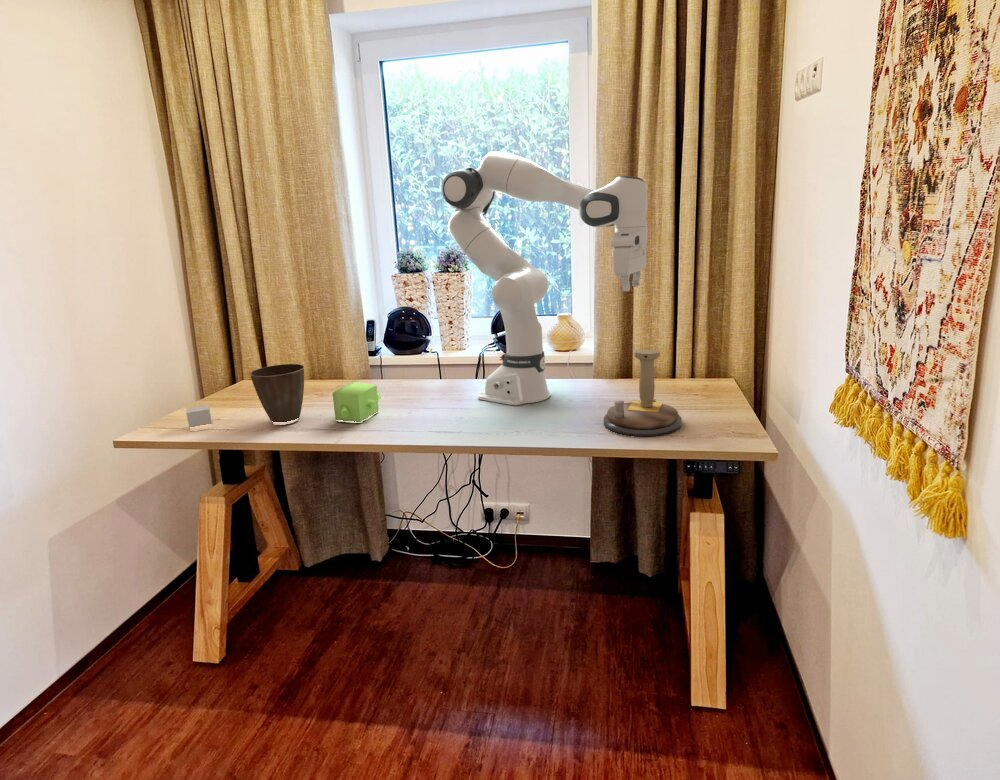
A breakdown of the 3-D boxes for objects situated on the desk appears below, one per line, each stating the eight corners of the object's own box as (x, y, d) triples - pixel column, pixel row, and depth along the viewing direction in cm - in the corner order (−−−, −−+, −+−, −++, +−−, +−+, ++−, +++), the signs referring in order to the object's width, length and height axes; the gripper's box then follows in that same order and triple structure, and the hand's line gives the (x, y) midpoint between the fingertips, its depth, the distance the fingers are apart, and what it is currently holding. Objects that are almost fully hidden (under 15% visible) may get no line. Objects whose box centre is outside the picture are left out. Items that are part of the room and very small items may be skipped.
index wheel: (650, 403, 174) (650, 384, 173) (692, 420, 158) (693, 400, 157) (594, 414, 168) (594, 394, 167) (632, 433, 152) (632, 412, 150)
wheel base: (593, 432, 160) (593, 419, 159) (618, 407, 178) (618, 396, 177) (672, 441, 151) (672, 427, 150) (689, 414, 169) (690, 401, 168)
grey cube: (212, 423, 188) (208, 404, 187) (212, 428, 183) (208, 409, 181) (190, 426, 186) (186, 407, 184) (190, 432, 181) (186, 413, 179)
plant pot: (249, 424, 184) (240, 372, 180) (294, 411, 195) (286, 361, 190) (276, 433, 174) (266, 378, 170) (321, 418, 185) (314, 366, 181)
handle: (658, 409, 163) (658, 353, 159) (633, 408, 165) (633, 353, 161) (660, 404, 168) (660, 349, 163) (635, 403, 170) (635, 349, 166)
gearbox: (356, 432, 173) (353, 399, 171) (326, 428, 177) (322, 396, 174) (388, 410, 190) (386, 381, 187) (360, 407, 193) (357, 378, 190)
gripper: (630, 236, 180) (630, 284, 184) (608, 240, 163) (609, 293, 166) (652, 235, 177) (651, 284, 181) (632, 239, 160) (632, 293, 164)
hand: (631, 288), depth 173 cm, fingers open, 8 cm apart
